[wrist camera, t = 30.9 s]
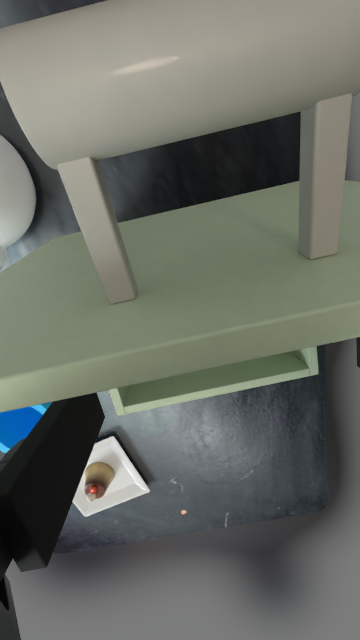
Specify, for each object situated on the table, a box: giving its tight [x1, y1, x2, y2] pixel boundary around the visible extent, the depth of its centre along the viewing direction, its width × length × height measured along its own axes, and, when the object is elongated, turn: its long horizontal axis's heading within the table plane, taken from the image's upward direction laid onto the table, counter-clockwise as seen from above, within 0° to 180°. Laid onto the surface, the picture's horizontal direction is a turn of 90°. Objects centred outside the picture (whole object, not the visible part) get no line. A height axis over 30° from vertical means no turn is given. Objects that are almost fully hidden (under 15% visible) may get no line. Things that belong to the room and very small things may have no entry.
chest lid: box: [0, 0, 360, 413], centre depth 11 cm, size 16×19×6 cm
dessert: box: [73, 436, 150, 517], centre depth 40 cm, size 12×12×5 cm
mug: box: [0, 402, 52, 453], centre depth 34 cm, size 12×8×8 cm
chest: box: [109, 346, 318, 416], centre depth 28 cm, size 16×19×13 cm
